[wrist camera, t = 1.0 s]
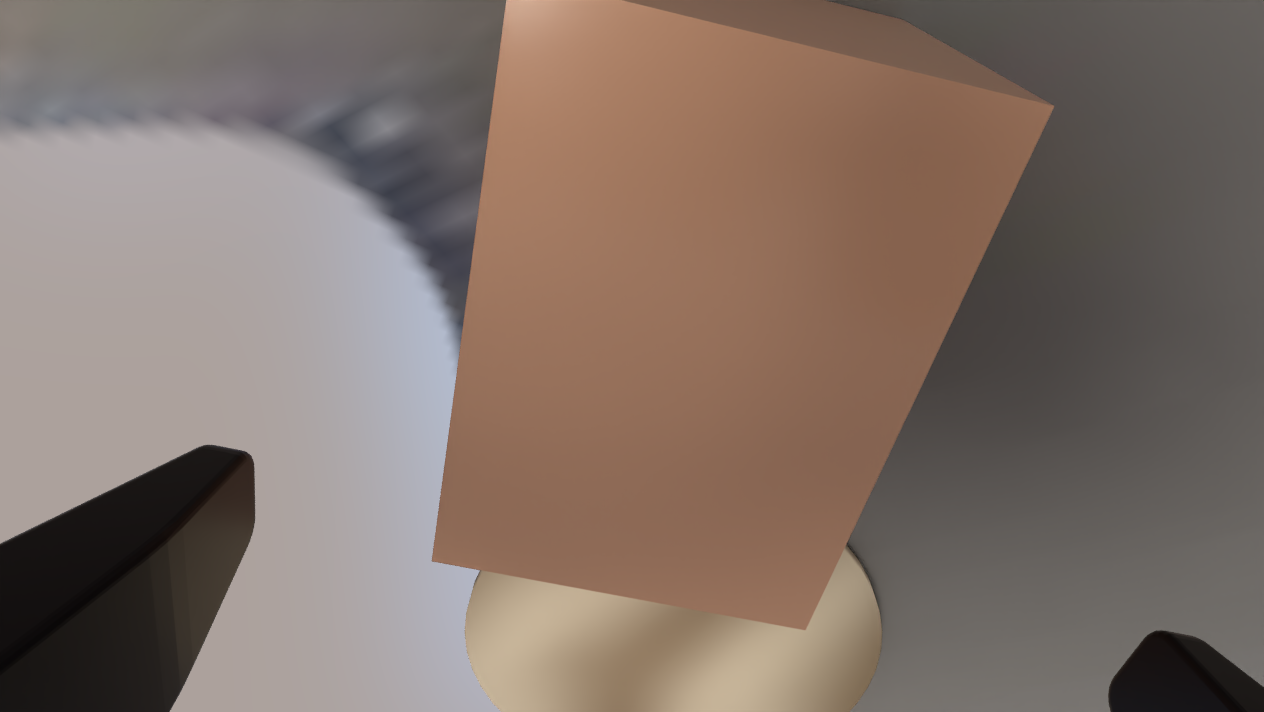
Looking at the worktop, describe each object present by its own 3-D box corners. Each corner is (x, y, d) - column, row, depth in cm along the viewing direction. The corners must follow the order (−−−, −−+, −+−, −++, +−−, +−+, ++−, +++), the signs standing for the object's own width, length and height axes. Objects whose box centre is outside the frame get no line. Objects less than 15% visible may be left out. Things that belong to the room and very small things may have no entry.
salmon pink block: (902, 19, 16) (1054, 106, 10) (762, 404, 20) (805, 630, 14) (572, -63, 15) (510, -28, 9) (503, 350, 20) (431, 561, 13)
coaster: (945, 524, 22) (951, 537, 21) (801, 788, 28) (803, 802, 27) (497, 435, 21) (494, 447, 20) (448, 728, 27) (444, 742, 26)
